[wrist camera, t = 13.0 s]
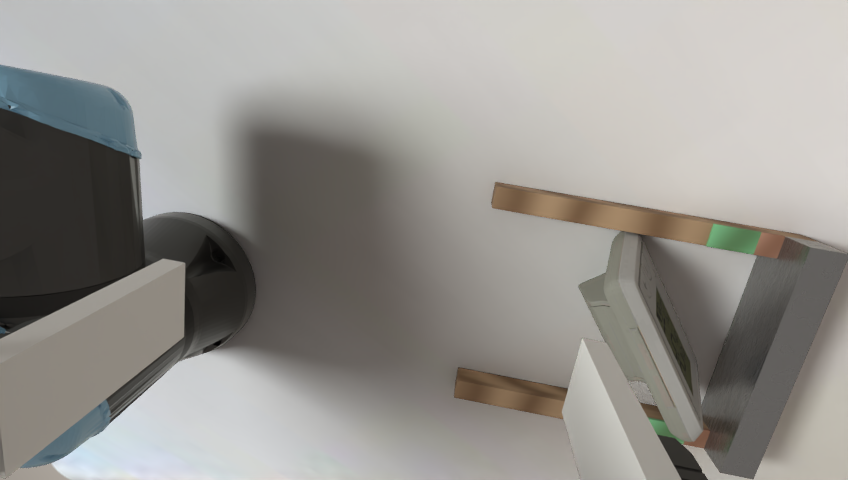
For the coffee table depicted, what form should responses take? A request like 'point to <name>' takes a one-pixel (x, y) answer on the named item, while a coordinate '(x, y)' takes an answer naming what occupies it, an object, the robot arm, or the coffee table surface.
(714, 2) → the coffee table surface
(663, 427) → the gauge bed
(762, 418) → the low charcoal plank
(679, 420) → the digital clock
